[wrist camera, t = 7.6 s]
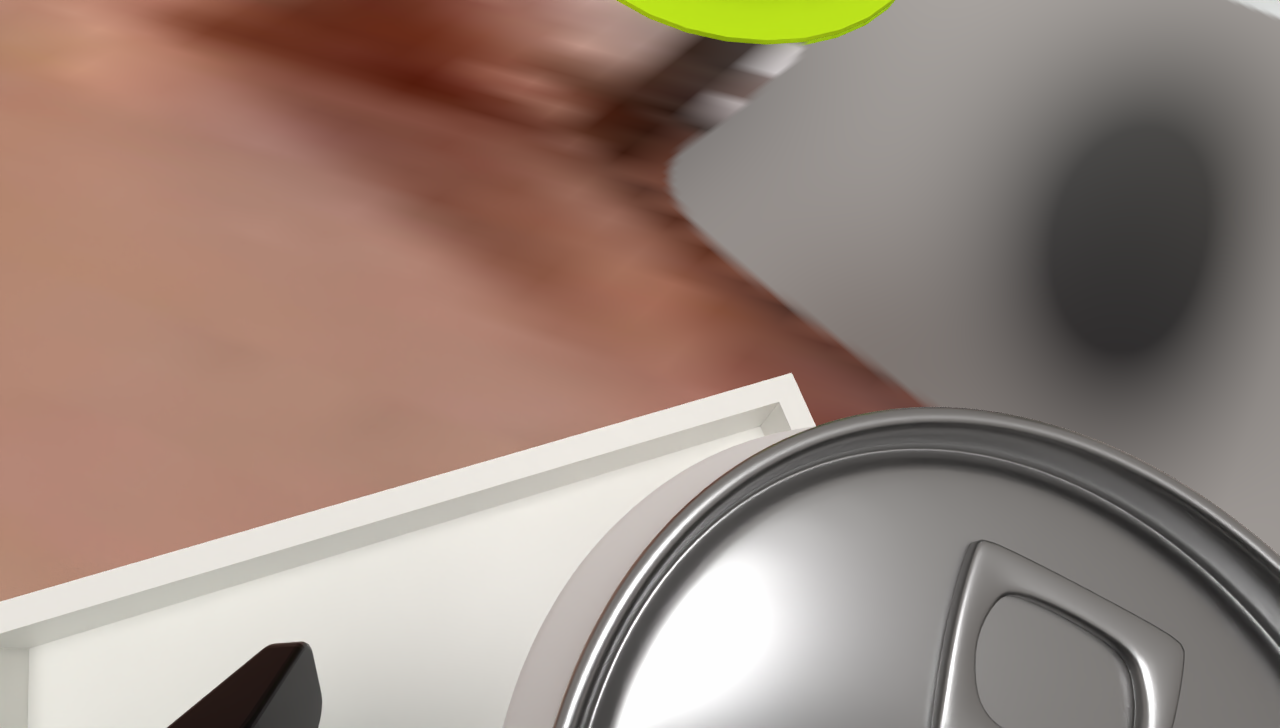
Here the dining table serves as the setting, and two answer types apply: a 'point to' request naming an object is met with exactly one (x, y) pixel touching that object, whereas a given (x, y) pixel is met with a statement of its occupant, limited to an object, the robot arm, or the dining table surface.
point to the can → (914, 590)
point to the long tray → (366, 585)
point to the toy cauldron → (763, 18)
